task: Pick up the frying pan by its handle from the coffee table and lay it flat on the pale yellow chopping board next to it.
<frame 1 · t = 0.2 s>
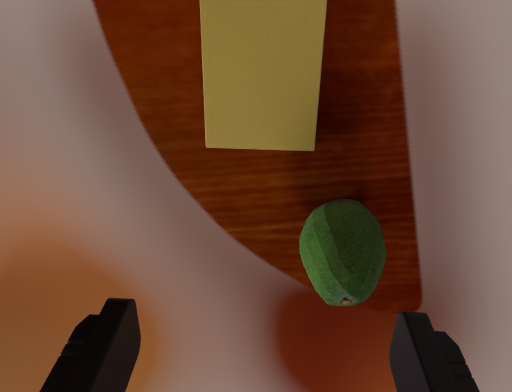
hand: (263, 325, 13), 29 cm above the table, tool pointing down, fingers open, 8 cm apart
board: (262, 56, 38), on the table
avocado: (336, 217, 45), on the table
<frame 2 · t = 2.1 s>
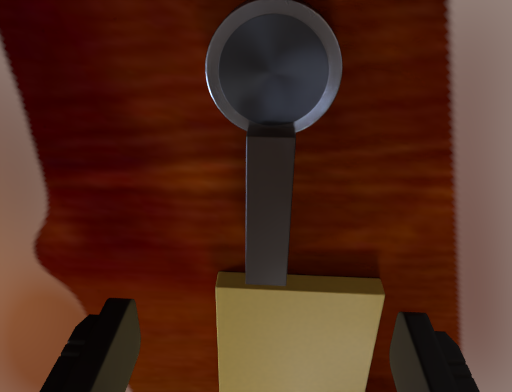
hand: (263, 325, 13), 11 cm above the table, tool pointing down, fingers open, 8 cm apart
board: (291, 363, 31), on the table
frying pan: (269, 187, 24), on the table
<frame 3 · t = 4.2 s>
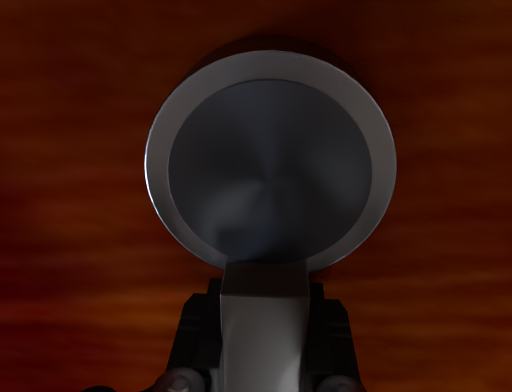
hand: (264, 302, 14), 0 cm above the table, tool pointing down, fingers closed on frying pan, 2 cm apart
frying pan: (264, 327, 15), on the table, touching gripper
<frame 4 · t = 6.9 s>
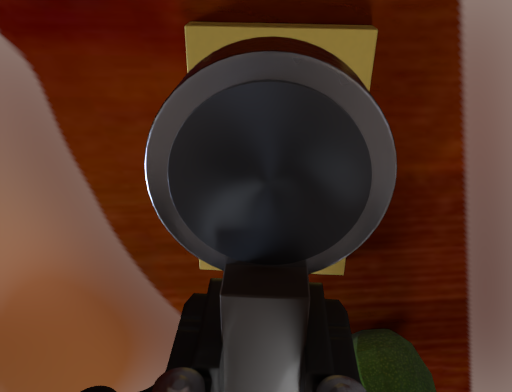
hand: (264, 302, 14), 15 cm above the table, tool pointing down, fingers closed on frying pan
board: (275, 157, 28), on the table
avocado: (367, 341, 35), on the table
frying pan: (264, 327, 15), point 14 cm above the table, touching gripper
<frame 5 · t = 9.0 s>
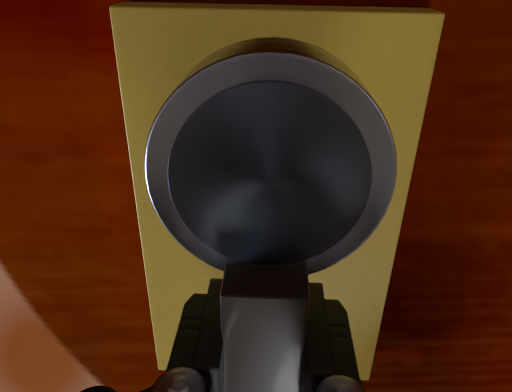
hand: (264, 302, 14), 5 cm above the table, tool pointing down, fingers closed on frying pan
board: (268, 214, 18), on the table
frying pan: (264, 327, 15), point 4 cm above the table, touching gripper
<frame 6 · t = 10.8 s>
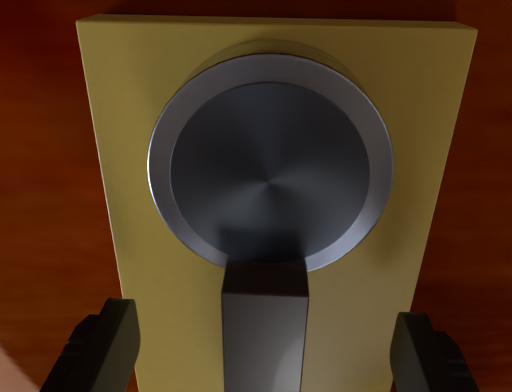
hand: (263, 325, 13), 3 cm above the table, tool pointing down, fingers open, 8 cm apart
board: (266, 253, 16), on the table
frying pan: (264, 325, 16), point 1 cm above the table, touching board
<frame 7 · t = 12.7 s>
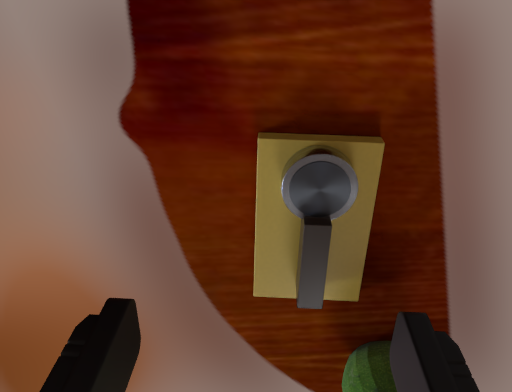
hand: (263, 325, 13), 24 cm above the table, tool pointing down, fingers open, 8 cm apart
board: (311, 218, 39), on the table
avocado: (373, 350, 46), on the table
frying pan: (311, 247, 39), point 1 cm above the table, touching board
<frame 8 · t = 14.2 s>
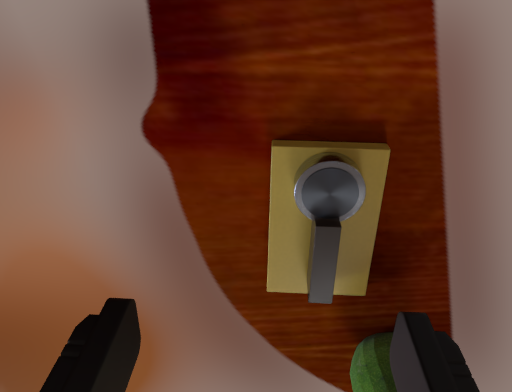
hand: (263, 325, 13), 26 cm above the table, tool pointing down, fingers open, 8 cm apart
board: (321, 219, 42), on the table
avocado: (379, 341, 49), on the table
frying pan: (321, 246, 41), point 1 cm above the table, touching board
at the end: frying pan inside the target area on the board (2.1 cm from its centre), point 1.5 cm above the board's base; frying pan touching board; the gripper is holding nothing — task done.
